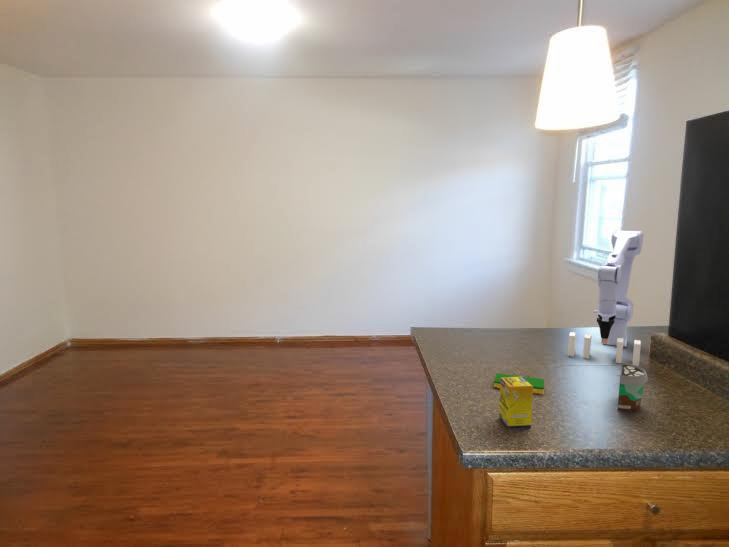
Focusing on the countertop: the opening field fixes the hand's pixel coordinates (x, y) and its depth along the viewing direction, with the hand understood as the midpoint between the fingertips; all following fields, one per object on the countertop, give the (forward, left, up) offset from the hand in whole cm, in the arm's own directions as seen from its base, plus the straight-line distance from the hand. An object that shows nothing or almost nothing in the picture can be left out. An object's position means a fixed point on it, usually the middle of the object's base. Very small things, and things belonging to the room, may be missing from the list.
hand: (604, 336), depth 162 cm
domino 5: (+7, +10, -6) cm, 14 cm away
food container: (+45, +9, -7) cm, 46 cm away
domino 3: (0, 0, -2) cm, 2 cm away
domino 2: (+7, -5, -6) cm, 11 cm away
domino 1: (+7, -10, -6) cm, 14 cm away
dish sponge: (+46, -20, -7) cm, 51 cm away
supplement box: (+70, -16, -7) cm, 72 cm away
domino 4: (+7, +5, -6) cm, 11 cm away
